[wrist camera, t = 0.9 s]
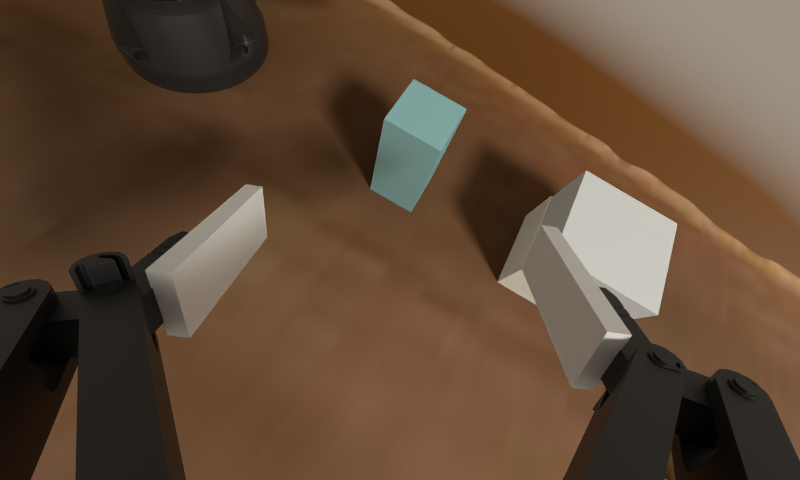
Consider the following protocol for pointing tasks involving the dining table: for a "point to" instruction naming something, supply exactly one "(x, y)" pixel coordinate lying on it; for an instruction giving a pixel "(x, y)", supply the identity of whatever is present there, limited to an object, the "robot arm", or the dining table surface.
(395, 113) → the teal post
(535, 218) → the tower base
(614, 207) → the tower top
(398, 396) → the dining table surface
